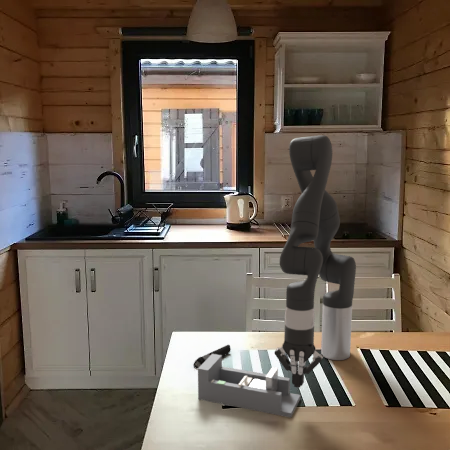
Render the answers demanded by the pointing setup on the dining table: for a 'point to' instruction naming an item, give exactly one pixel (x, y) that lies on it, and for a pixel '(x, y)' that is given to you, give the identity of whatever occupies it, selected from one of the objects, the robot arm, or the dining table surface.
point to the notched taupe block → (267, 381)
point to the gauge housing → (243, 389)
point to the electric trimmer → (201, 360)
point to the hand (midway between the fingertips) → (297, 385)
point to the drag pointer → (246, 381)
